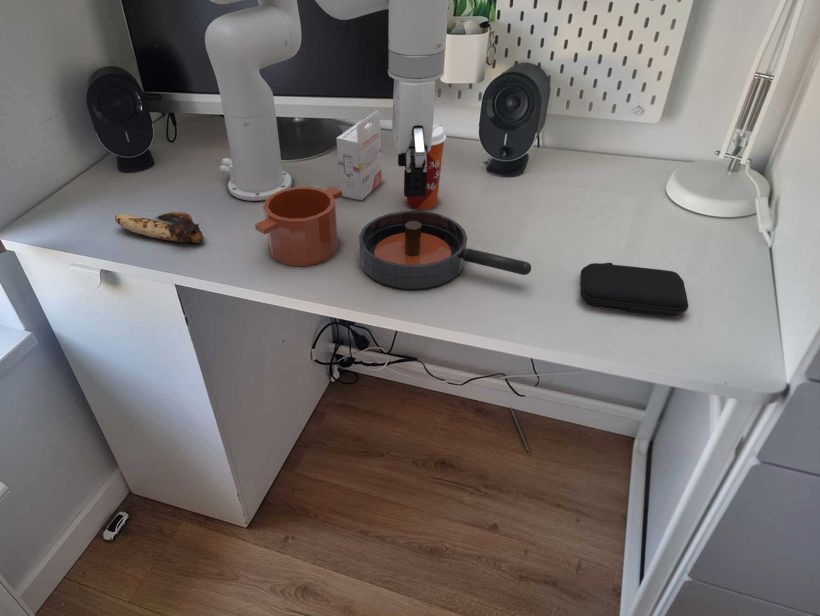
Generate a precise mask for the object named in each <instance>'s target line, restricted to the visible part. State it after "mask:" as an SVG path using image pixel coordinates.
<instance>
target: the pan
mask: <svg viewBox="0 0 820 616" xmlns="http://www.w3.org/2000/svg"><path fill="white" fill-rule="evenodd" d="M410 221H417V222H419V223H421V233H425V234H430V235H433V236H436V237H438V238H440V239H442V240H443V241H445V242H446V243H447V244H448V245H449V247H450V249H451V256H450V257H448V258H446V259H443V260H441V261H438V262H434V263H429V264H421V265H406V264H397V263H393V262H389V261H385V260H383V259H381V258H378V257H376V256H374V250H375V248H376V246H377V245H378V243H379V242H381V241H382V240H383V239H385V238H387V237H389V236H392V235H395V234H400V233H405V224H406V223H407V222H410ZM467 246H468V236H467V233H466V230H465V229H464V228H463V227H462V226H461V224H460V223H458V222H457V221H456V220H453V219H452V218H450V217H447V216H445V215H442V214H440V213H435V212H431V211H425V210H401V211H395V212H390V213H386V214H383V215H381V216H378V217H376V218H374V219H373V220H370V221H369V222H367V224H366V225H365V226H363V228H361V231H360V233H359V235H358V247H359V249H358V250H359V265H360V266H361V268H362V269H363V272H364V273H365V274H367V275H368V276H369V277H370V278H371V279H373V280H374V281H376V282H378V283H379V284H382V285H384V286H387V287H391V288H395V289H400V290H426V289H432V288H435V287H438V286H441V285H444V284H446V283H448V282H449V281H451V280H453V279H454V278H456V277H457V276H458V275H460V273H461V271H462V270H463V269H464V268H465V263H466V261H465V260H463V259H462V252H463V250H464V249H467V248H468V247H467Z"/></svg>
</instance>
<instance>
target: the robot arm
mask: <svg viewBox="0 0 820 616" xmlns="http://www.w3.org/2000/svg"><path fill="white" fill-rule="evenodd" d="M209 1H210V2H211V3H214V4H216V5H228V4H234V3H238V2H242V1H244V0H209ZM314 2H315V3H317V5H318V6H319V8H321V9H322V11H324V12H325V13H326V14H328V15H329V16H330V17H332V18H334V19H337V20H341V21H347V20H352V19H356V18H359V17H362V16H366V15H369V14H373V13H376V12H380V11H386V10H388V33H387V34H388V37H387V38H388V39H387V42H388V43H387V45H388V46H387V76H389V78H392V79H393V93H392V94H393V96H392V98H393V99H392V119H391V134H392V139H393V145H394V149H395V152H396V153H397V165H398V167H405V166H406V167H407V170H405V169H404V171H403V173H404V174H403V196H404V197H405V198H407V197H420V196H425V195H426V186H427V159H426V153H428V152H429V151H430V150H431V143H432V132H433V124H434V115H435V96H436V94H435V93H436V80H437V81H438V80H439V79H440V78H443V76H444V74H445V61H446V46H447V34H448V17H449V5H450V3H449V2H450V0H314ZM257 3H258V5H256V6H252V7H249V8H248V7H247V8H243V9H239V10H236V11H232V12H229V13H225V14H223V15H220V16H218V17H217V18H215V19H214V20H212V21H211V22H210V23H209V24H208V26H207V28H206V31H205V34H204V45H205V49H206V52H207V56H208V58H209V62H210V64H211V66H212V70H213V73H214V76H215V79H216V83H217V87H218V91H219V97H220V102H221V108H222V112H223V118H224V124H225V130H226V136H227V141H228V149H229V153H230V158H228V157H224V158H223V159H221V165H220V167H219V172H220V173H223V174H228V175H229V177H230V179H229V181H228V184H227V188H228V191H229V193H230V194H231V196H233V197H235V198H237V199H239V200H244V201H249V202H250V201H251V202H258V201H266V200H267V199H268V198H269V197H270V196H271V195H272V194H274V193H276V192H278V191H281V190H284V189H288V188H292V186H293V185H292V184H293V180H292V177H291V175H290V174H289V173H288V172H287V171H285V170H283V163H282V154H281V146H280V138H279V129H278V121H277V114H276V113H277V111H276V105H275V97H274V93H273V90H272V88H271V87H270V85H269V84H268V83H267V82H266V80H265V79H264V78H263V77H262V75H261V73H260V70H262V69H264V68H266V67H268V66H272V65H274V64H278V63H281V62H284V61H288V60H289V59H292V58H293V57H294V56H296V55H297V53H298V52H299V50H300V48H301V44H302V25H301V19H300V12H299V6H298V0H257Z"/></svg>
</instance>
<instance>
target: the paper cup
mask: <svg viewBox="0 0 820 616" xmlns="http://www.w3.org/2000/svg"><path fill="white" fill-rule="evenodd" d="M444 129H445V128H444V127H443V126H441V125H439V124H437V123H433V132H432V143H431V150H430V151H429V152H428V153H426V159H427V186H426V195H425V196H420V197H406V203H407V206H408V207H410V208H412V209H414V210H418V211H425V210H430V209H432V208H435V207H436V205H437V203H438V196H439V188H440V180H441V173H442V172H441V171H442V162H443V153H444V145H445V141H446V140H447V135H446V132H445V130H444ZM404 170H407V167H406V166H404Z"/></svg>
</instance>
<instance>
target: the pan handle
mask: <svg viewBox="0 0 820 616" xmlns="http://www.w3.org/2000/svg"><path fill="white" fill-rule="evenodd" d="M462 259H463V260H465V262H468V263H472V264H476V265H479V266H480V265H481V266H484V267H489V268H493V269H497V270H501V271H505V272H508V273H509V272H510V273H514V274H518V275H522V276H526V275H529V274H530V273H531V271H532V265H531V264H530V262H528V261H525V260H520V259H516V258H511V257H508V256H504V255H498V254H494V253H490V252H486V251H481V250H477V249H473V248H468V247H466V249H464V250H463V252H462Z"/></svg>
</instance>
